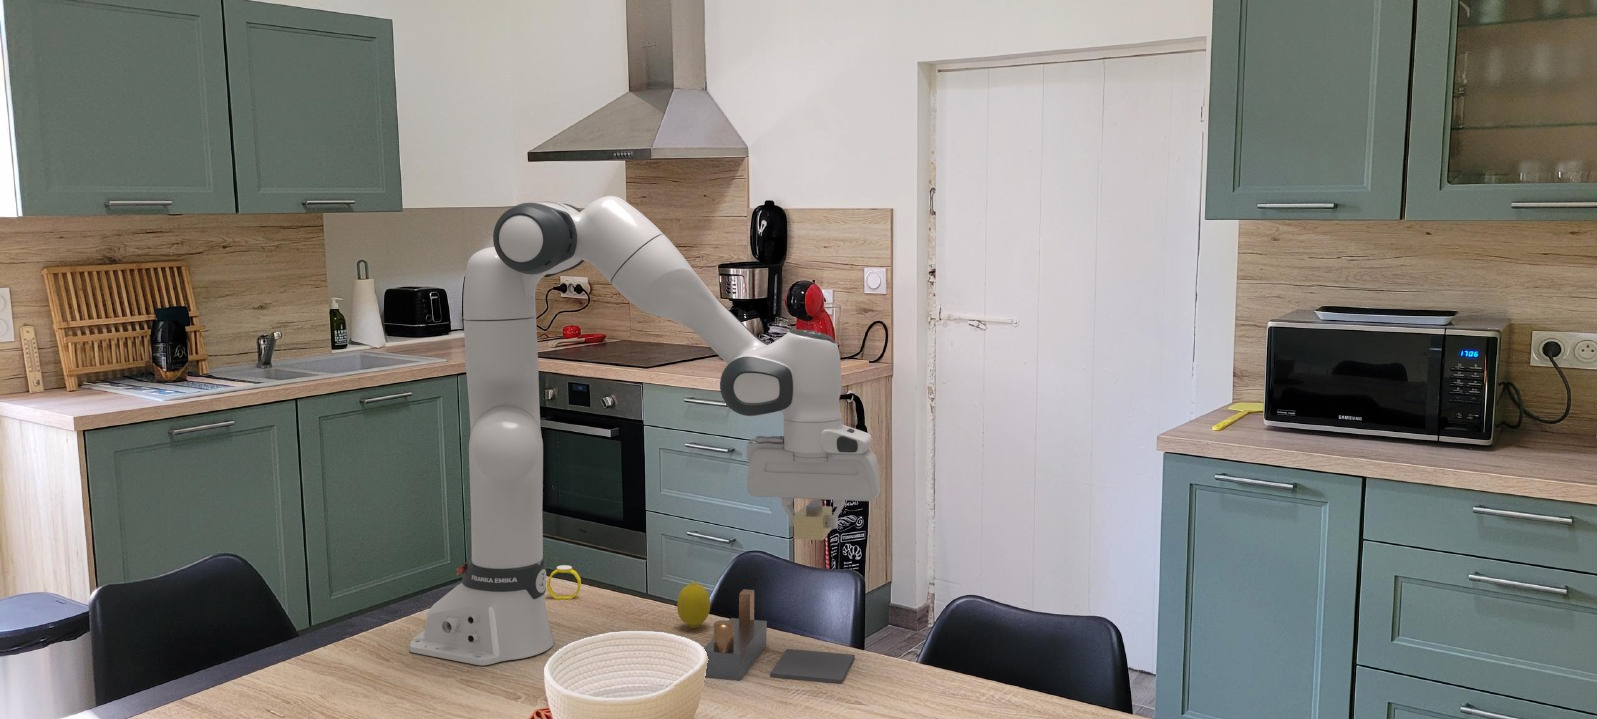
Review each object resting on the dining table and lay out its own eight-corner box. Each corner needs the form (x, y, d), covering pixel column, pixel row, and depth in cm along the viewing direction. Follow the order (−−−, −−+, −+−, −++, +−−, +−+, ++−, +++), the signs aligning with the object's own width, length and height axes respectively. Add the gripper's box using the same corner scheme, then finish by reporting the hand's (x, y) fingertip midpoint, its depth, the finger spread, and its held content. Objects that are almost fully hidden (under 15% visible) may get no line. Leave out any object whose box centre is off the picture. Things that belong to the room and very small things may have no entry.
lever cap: (794, 538, 174) (794, 509, 173) (804, 527, 181) (804, 499, 180) (823, 540, 173) (822, 510, 173) (831, 528, 180) (831, 500, 179)
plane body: (701, 676, 174) (701, 618, 173) (730, 641, 190) (731, 588, 189) (740, 680, 173) (740, 621, 172) (766, 644, 189) (767, 590, 188)
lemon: (704, 634, 193) (705, 587, 192) (672, 632, 194) (673, 585, 194) (713, 624, 199) (714, 578, 198) (682, 621, 200) (682, 576, 199)
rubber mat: (770, 676, 175) (770, 672, 175) (786, 652, 185) (786, 648, 185) (841, 683, 172) (842, 679, 172) (854, 658, 183) (854, 654, 183)
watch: (580, 597, 214) (582, 566, 213) (578, 602, 211) (580, 570, 210) (548, 595, 214) (550, 563, 213) (545, 599, 211) (547, 567, 210)
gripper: (740, 438, 175) (742, 528, 176) (875, 442, 170) (875, 534, 171) (751, 431, 181) (752, 518, 182) (881, 435, 176) (882, 524, 178)
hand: (813, 526), depth 177 cm, fingers closed on lever cap, 4 cm apart
